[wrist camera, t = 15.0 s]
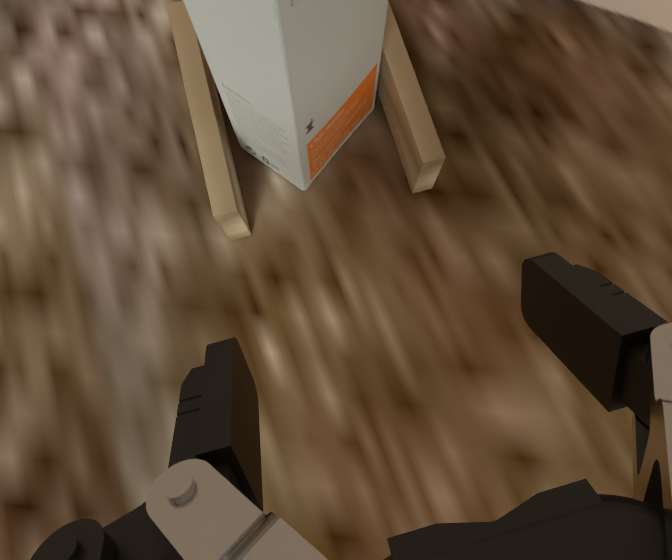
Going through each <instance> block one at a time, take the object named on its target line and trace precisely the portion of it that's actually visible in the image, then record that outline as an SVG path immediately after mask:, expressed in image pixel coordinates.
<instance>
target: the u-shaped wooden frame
mask: <svg viewBox="0 0 672 560" xmlns="http://www.w3.org/2000/svg"><path fill="white" fill-rule="evenodd" d="M167 8H168V13H169V17H170V22H171V26H172V31H173V36H174V40H175V45H176V49H177V54H178V58H179V63H180V67H181V72H182V76H183V81H184V85H185V90H186V95H187V99H188V104H189V108H190V113H191V117H192V122H193V126H194V131H195V135H196V140H197V145H198V149H199V154H200V158H201V163H202V167H203V172H204V176H205V181H206V185H207V190H208V194H209V199H210V204H211V208H212V213H213V217H214V218H215V220H216V221H217V222H218V224H219V225H220V227H221V228H222V229H223V231H224V232H225V233H226V235H227V236H228V238H229V239H230V240H235V239H239V238H243V237H247V236H251V232H250V228H249V223H248V219H247V215H246V211H245V207H244V202H243V198H242V194H241V190H240V186H239V182H238V177H237V173H236V169H235V165H234V161H233V157H232V152H231V148H230V144H229V140H228V136H227V131H226V127H225V123H224V119H223V115H222V111H221V106H220V102H219V98H218V94H217V90H216V86H215V81H214V78H213V76H212V73H211V71H210V68H209V66H208V63H207V61H206V58H205V55H204V53H203V50H202V48H201V45H200V42H199V40H198V37H197V34H196V32H195V30H194V27H193V24H192V22H191V19H190V17H189V14H188V12H187V9H186V7H185V4H184V1H183V0H182V1H178V2H174V3H169V4H167ZM377 91H378V94H379V97H380V100H381V102H382V105H383V108H384V111H385V114H386V117H387V120H388V123H389V126H390V129H391V132H392V135H393V138H394V141H395V144H396V147H397V150H398V153H399V156H400V159H401V162H402V165H403V167H404V170H405V173H406V176H407V179H408V182H409V185H410V188H411V191H412V194H413V193H417V192H420V191H424V190H428V189H432V187H433V185H434V183H435V181H436V178H437V176H438V174H439V172H440V169H441V167H442V165H443V163H444V160H445V158H446V157H445V154H444V151H443V149H442V146H441V143H440V140H439V138H438V135H437V132H436V129H435V127H434V124H433V121H432V119H431V116H430V113H429V110H428V108H427V105H426V102H425V99H424V97H423V94H422V91H421V88H420V86H419V83H418V80H417V77H416V75H415V72H414V69H413V67H412V64H411V61H410V58H409V56H408V53H407V50H406V47H405V45H404V42H403V39H402V36H401V34H400V31H399V28H398V26H397V23H396V20H395V17H394V15H393V12H392V9H391V6H390V4H389V1H388V7H387V15H386V23H385V30H384V38H383V45H382V53H381V61H380V68H379V76H378V84H377Z"/></svg>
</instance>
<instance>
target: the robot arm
mask: <svg viewBox="0 0 672 560" xmlns="http://www.w3.org/2000/svg"><path fill="white" fill-rule="evenodd" d="M521 309H522V313H523V316H524V319H525V321H526V323H527V324H528V326H529V327H530V328H531V329H532V330H533V331H534V333H535V334H536V335H537V336H538V337H539V338H540V339H541V340H542V341H543V342H544V343H545V344H546V345H547V346H548V348H549V349H550V350H551V351H552V352H553V353H554V354H555V355H556V356H557V357H558V358H559V359H560V360H561V361H562V363H563V364H564V365H565V366H566V367H567V368H568V369H569V370H570V371H571V372H572V373H573V374H574V375H575V377H576V378H577V379H578V380H579V381H580V382H581V383H582V384H583V385H584V386H585V387H586V388H587V389H588V390H589V392H590V393H591V394H592V395H593V396H594V397H595V398H596V399H597V400H598V401H599V402H600V403H601V404H602V406H603V407H604V408H605V409H606V410H607V411H608V412H610V411H614V410H617V409H620V408H624V407H627V406H628V407H629V408H630V409H631V410H632V411H633V412H634V413H633V418H632V451H633V499H632V498H628V497H622V496H617V495H605V494H597V493H596V492H595V490H594V489H593V488H592V486H591V485H590V484H589V482H588V481H587V480H586V479H583V480H580V481H577V482H573V483H570V484H567V485H563V486H560V487H557V488H553V489H550V490H547V491H544V492H540V493H537V494H536V495H534V496H533V497H531V498H530V499H528V500H527V501H525V502H524V503H522V504H521V505H519V506H518V507H516V508H515V509H513V510H512V511H510V512H509V513H507V514H506V515H504V516H503V517H501V518H500V519H498V520H496V521H492V522H472V523H439V524H434V525H430V526H427V527H424V528H420V529H417V530H414V531H411V532H407V533H404V534H401V535H397V536H394V537H391V538H387V540H388V544H389V548H390V552H391V555H390V556H388V557H387V558H385V559H384V560H672V323H668V322H667V321H666V320H664V319H663V318H661V317H660V316H659V315H657V314H656V313H654V312H653V311H652V310H650V309H649V308H647V307H646V306H645V305H643V304H642V303H640V302H639V301H638V300H636V299H635V298H633V297H632V296H631V295H629V294H628V293H624V290H622V289H621V288H619V287H618V286H617V285H615V284H612V282H611V281H610V280H608V279H607V278H605V277H604V276H603V275H601V274H600V273H598V272H597V271H594V270H591V269H589V268H586V267H583V266H580V265H577V264H576V265H571V264H570V263H569V262H567V261H566V260H565V259H563V258H562V257H560V256H559V255H558V254H556V253H554V252H551V253H547V254H543V255H540V256H536V257H532V258H529V259H525V260H524V262H523V264H522V286H521ZM179 402H180V404H178V410H177V416H178V417H176V423H175V429H174V435H173V442H172V448H171V454H170V460H169V467H168V469H167V470H166V471H164V472H163V473H162V474H161V475H160V476H159V477H158V478H157V479H156V481H155V482H154V483H153V485H152V486H151V488H150V490H149V493H148V496H147V500H146V502H144V503H143V504H142V505H141V506H139V507H138V508H136V509H134V510H133V511H131V512H129V513H128V514H126V515H124V516H123V517H121V518H119V519H117V520H116V521H114V522H112V523H111V524H109V525H107V526H105V527H104V528H103V527H102V526H101V525H100V524H99V523H98V522H97V521H95V520H92V519H80V520H76V521H73V522H71V523H68V524H66V525H65V526H63V527H61V528H60V529H58V530H57V531H55V532H54V533H53V534H52V535H50V536H49V537H48V538H47V539H46V540H45V541H44V542H43V543H42V544H41V546H40V547H39V548H38V549H37V550H36V552H35V553H34V555H33V556H32V558H31V560H328V559H327V558H326V557H324V556H323V555H322V554H321V553H320V552H319V551H318V550H317V549H315V548H314V547H313V546H312V545H311V544H310V543H309V542H307V541H306V540H305V539H304V538H303V537H302V536H301V535H300V534H298V533H297V532H296V531H295V530H294V529H293V528H292V527H291V526H289V525H288V524H287V523H286V522H285V521H284V520H283V519H281V518H280V517H279V516H278V515H276V514H274V513H272V512H270V513H269V514H268V515H266V514H264V513H263V496H262V474H261V452H260V431H259V409H258V396H257V391H256V387H255V383H254V380H253V377H252V375H251V372H250V370H249V367H248V365H247V362H246V360H245V357H244V355H243V352H242V350H241V347H240V345H239V343H238V341H237V339H236V338H235V337H234V338H231V339H227V340H223V341H219V342H216V343H212V344H208V345H207V347H206V355H205V365H204V366H200V367H196V368H193V369H191V371H190V372H189V374H188V375H187V377H186V379H185V380H184V382H183V383H182V385H181V392H180V398H179Z"/></svg>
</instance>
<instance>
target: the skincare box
mask: <svg viewBox="0 0 672 560" xmlns="http://www.w3.org/2000/svg"><path fill="white" fill-rule="evenodd" d="M183 1H184V4H185V7H186V9H187V12H188V14H189V17H190V19H191V22H192V24H193V27H194V30H195V32H196V34H197V37H198V40H199V42H200V45H201V48H202V50H203V53H204V55H205V58H206V61H207V63H208V66H209V68H210V71H211V73H212V76H213V78H214V81H215V83H216V86H217V88H218V91H219V93H220V96H221V98H222V101H223V104H224V106H225V109H226V111H227V114H228V117H229V119H230V122H231V124H232V127H233V129H234V132H235V134H236V137H237V140H238V142H239V144H240V147H241V148H243V149H244V150H245V151H247V152H248V153H250V154H251V155H253V156H254V157H255V158H257V159H258V160H260V161H261V162H263V163H264V164H265V165H267V166H268V167H270V168H271V169H272V170H274V171H275V172H277V173H278V174H280V175H281V176H282V177H284V178H285V179H287V180H288V181H289V182H291V183H292V184H294V185H295V186H296V187H298V188H299V189H300V190H302V191H306V190H307V189H308V188H309V186H310V185H311V183H312V182H313V181H314V179H315V178H316V177H317V176H318V174H319V173H320V172H321V171H322V170H323V168H324V167H325V166H326V165H327V164H328V162H329V161H330V160H331V159H332V157H333V156H334V155H335V154H336V152H337V151H338V150H339V149H340V148H341V146H342V145H343V144H344V143H345V142H346V141H347V139H348V138H349V137H350V136H351V135H352V134H353V133H354V131H355V130H356V129H357V128H358V127H359V126H360V125H361V123H362V122H363V121H364V120H365V119H366V118H367V116H368V115H369V114H370V113H371V112H372V111H373V109H374V106H375V99H376V91H377V84H378V76H379V68H380V61H381V53H382V45H383V38H384V30H385V23H386V15H387V7H388V0H183Z"/></svg>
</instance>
